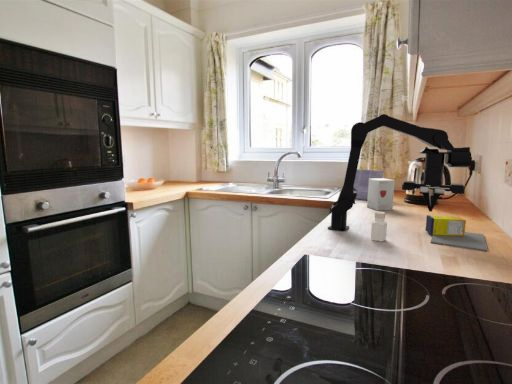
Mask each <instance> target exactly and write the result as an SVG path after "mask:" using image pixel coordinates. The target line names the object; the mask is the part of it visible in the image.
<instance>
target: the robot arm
mask: <svg viewBox="0 0 512 384" xmlns="http://www.w3.org/2000/svg"><path fill="white" fill-rule="evenodd" d="M381 127H383V128H387V129H390V130H392V131H395V132H398V133H401V134H404V135H408V136H410V137H413V138H414V139H417V140H418V141H420V142H421V143H423V144H425V145H426V146H424V147H423V149H421V150H420V151H419V152H418V153H419V154H422V155H423V154H425V160H424V172H423V171H422V172H421V173H420V182H421V183H417V181H414V180H413V181H412V180H405V181H404V182H402V185H401V190H402V191H412V190H414V189H418V190H420V191H419V194H421V195H422V196H423V199H424V200H425V202H426V206H427V209H428V212H431V213H433V209H434V207H435V205H436V203H437V201H438V199H439V198H440V196H444V195H445V191H447V192H448V191H449V192H451V193H452V194H454V195H455V194H457V195H464V194H465V189H466V185H464V183H450V184H449V185H448V184H447V185H446V184H444V171H445V170H444V167H445V165H447V166H448V168H470V167H471V165H472V161H473V157H472V152H471V147H470V146H464V147H454V146H453V144H452V142H450V140H449V135H448V132H447V131H445V130H443V129H438V128H433V127H424V126H419V125H417V124H414V123H410V122H407V121H404V120H402V119H398V118H395V117H392V116H390V115H388V114H387V113H383V114H382V113H381V114H380V115H379V116H377V117H374V118H372V119H370V120H367V121H365V122H361V121H359V122H355V124H353V125H352V128H351V130H350V151H349V155H348V159H347V160H348V161H347V167H346V171H345V176H344V181H343V185H342V187H341V189H340V192H339V194H338V197H337V200H336V201H335V202H334V203H332V204H331V213H330V214H331V217H330V225H329V226H328V227H327V230H334V231H339V232H340V231H342V232H346V231H347V230H348V229H349V228H350V226H349V225H347V221H348V220H347V219H348V211H349V210H351V209H352V208H353V206H354V205H356V199H355V198H356V196H357V191H353V187H354V181H355V177H356V172H357V169H358V166H359V160H360V156H361V151H362V148H363V146H364V143H365V142H366V139H367V136H368V134H369V133H371V132H372V131H374V130H377V129H379V128H381ZM428 146H429V147H431V148H429V147H428ZM439 150H441V151H439ZM431 190H433V191H434V192H433V195H432V199H431Z"/></svg>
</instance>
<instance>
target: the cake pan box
mask: <svg viewBox="0 0 512 384" xmlns="http://www.w3.org/2000/svg"><path fill="white" fill-rule="evenodd" d="M371 178H384V170H377V169H376V170H375V169H364V168H363V169H362V168H361V169H360V168H357V172H356V177H355V181H354V187H353V191H357V196H356V198H355V200H365V201H367V199H368V185H369V179H371Z"/></svg>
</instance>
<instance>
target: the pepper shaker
mask: <svg viewBox="0 0 512 384" xmlns="http://www.w3.org/2000/svg"><path fill="white" fill-rule="evenodd" d="M385 218H386V212H385V211H384V212H383V211H375V212H374V220H373V221H372V222H371V230H370V231H371V233H370V240H372V241H375V242H380V243H382V242H384V241H386V240H387V229H388V222H386V221H385Z"/></svg>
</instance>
